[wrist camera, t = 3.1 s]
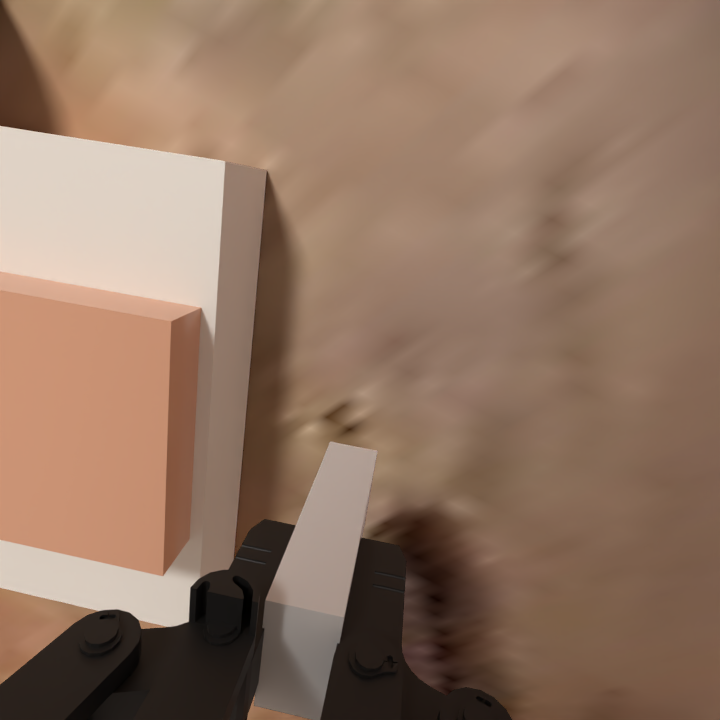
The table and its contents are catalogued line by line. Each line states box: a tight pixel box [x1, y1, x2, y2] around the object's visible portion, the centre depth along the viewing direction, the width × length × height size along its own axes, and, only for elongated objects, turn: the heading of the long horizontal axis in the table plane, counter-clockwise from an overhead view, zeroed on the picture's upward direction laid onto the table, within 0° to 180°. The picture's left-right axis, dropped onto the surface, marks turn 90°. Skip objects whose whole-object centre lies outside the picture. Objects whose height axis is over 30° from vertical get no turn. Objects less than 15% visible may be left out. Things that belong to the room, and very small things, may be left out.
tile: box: [0, 271, 201, 576], centre depth 17 cm, size 9×9×2 cm
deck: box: [0, 126, 267, 627], centre depth 20 cm, size 18×14×4 cm
